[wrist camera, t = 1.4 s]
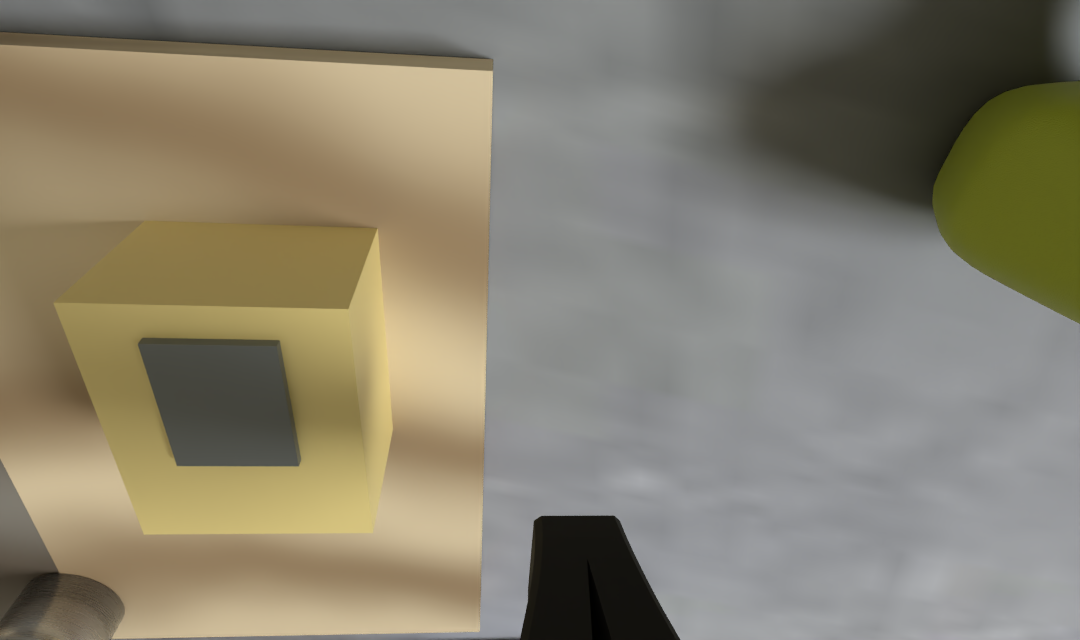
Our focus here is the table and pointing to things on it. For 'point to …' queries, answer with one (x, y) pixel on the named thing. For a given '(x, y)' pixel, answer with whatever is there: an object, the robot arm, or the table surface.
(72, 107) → the subfloor panel
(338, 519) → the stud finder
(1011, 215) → the dumbbell
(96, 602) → the battery
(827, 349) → the table surface
